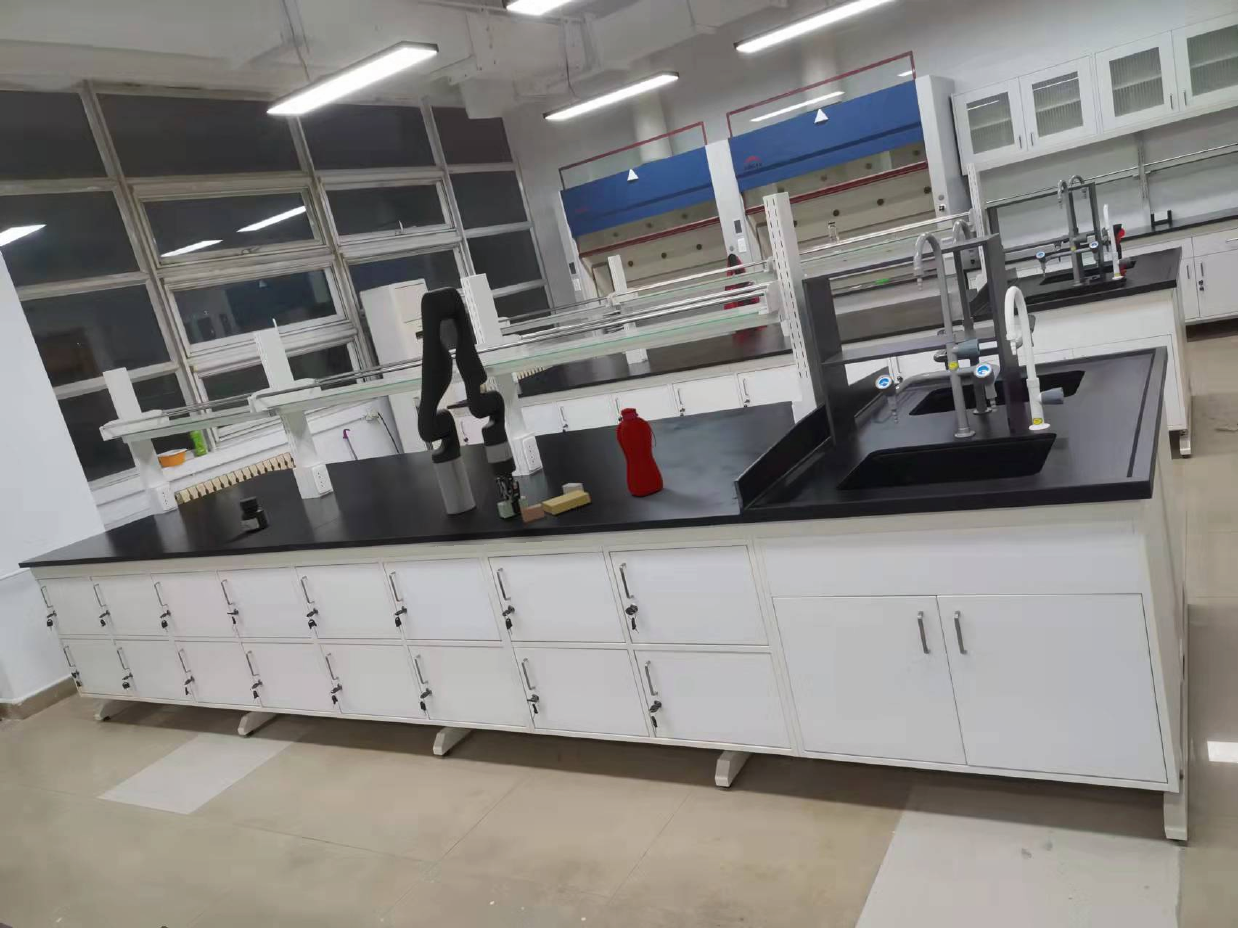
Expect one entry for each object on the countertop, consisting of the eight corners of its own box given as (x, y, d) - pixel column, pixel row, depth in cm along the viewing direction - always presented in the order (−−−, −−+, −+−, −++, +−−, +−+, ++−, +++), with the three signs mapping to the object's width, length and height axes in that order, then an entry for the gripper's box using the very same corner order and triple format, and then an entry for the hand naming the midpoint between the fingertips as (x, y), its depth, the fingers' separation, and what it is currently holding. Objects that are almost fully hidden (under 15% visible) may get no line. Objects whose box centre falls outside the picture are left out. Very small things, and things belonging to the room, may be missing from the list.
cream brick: (564, 496, 267) (562, 486, 266) (572, 493, 269) (569, 483, 268) (577, 497, 263) (574, 486, 262) (584, 494, 265) (581, 483, 264)
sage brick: (500, 516, 260) (497, 503, 259) (524, 507, 264) (521, 495, 263) (505, 518, 257) (501, 505, 256) (529, 509, 260) (526, 497, 259)
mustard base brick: (544, 511, 256) (541, 502, 256) (580, 499, 261) (578, 490, 260) (554, 516, 249) (551, 506, 248) (591, 503, 254) (588, 493, 253)
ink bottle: (240, 533, 327) (230, 503, 324) (260, 525, 334) (250, 495, 331) (254, 533, 321) (244, 502, 318) (275, 524, 328) (265, 494, 325)
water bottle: (673, 486, 248) (654, 403, 243) (640, 498, 244) (621, 413, 239) (657, 483, 257) (639, 401, 251) (626, 494, 252) (606, 412, 247)
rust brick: (524, 522, 248) (521, 511, 247) (523, 520, 251) (520, 509, 250) (544, 517, 249) (541, 505, 249) (543, 514, 252) (540, 503, 251)
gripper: (480, 459, 261) (495, 512, 265) (497, 463, 249) (512, 519, 252) (503, 452, 264) (517, 504, 268) (520, 456, 252) (535, 511, 256)
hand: (514, 511), depth 260 cm, fingers closed on sage brick, 4 cm apart
